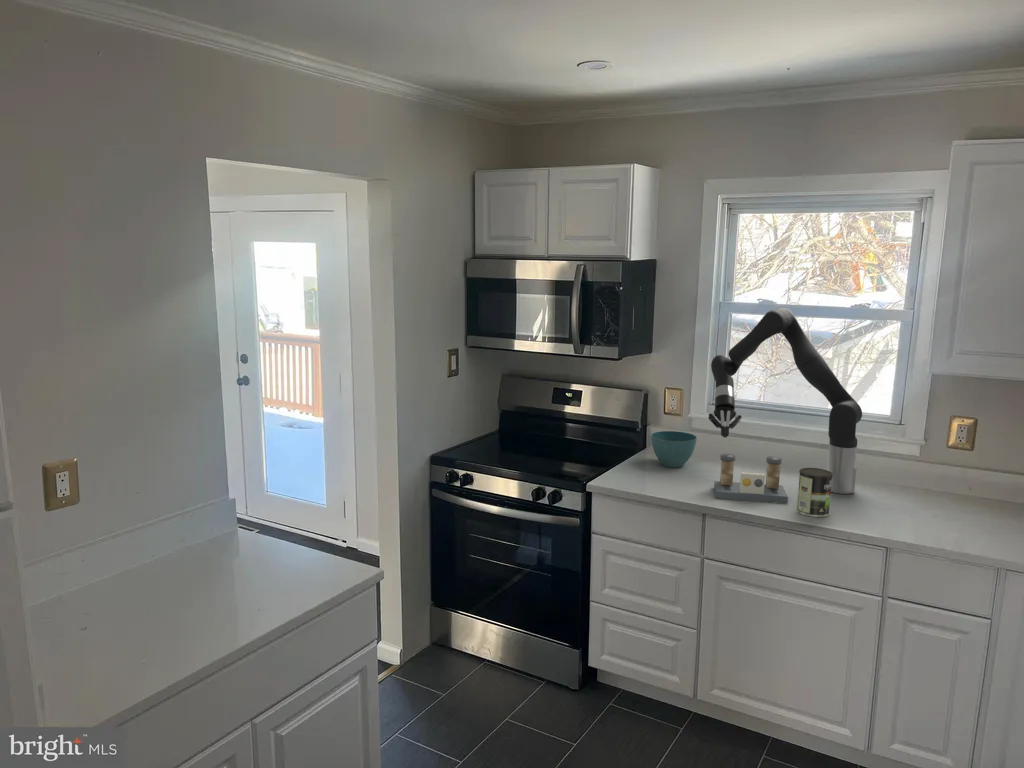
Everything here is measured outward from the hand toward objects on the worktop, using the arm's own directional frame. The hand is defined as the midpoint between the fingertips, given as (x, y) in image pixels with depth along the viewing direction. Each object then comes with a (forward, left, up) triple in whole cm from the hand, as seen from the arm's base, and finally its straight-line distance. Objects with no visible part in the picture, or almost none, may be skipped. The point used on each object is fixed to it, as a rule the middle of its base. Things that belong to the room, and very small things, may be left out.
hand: (725, 436), depth 283 cm
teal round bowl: (+19, -14, -17) cm, 29 cm away
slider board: (-8, +20, -16) cm, 27 cm away
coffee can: (-27, +33, -17) cm, 46 cm away
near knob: (-16, +16, -14) cm, 27 cm away
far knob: (0, +16, -14) cm, 21 cm away
